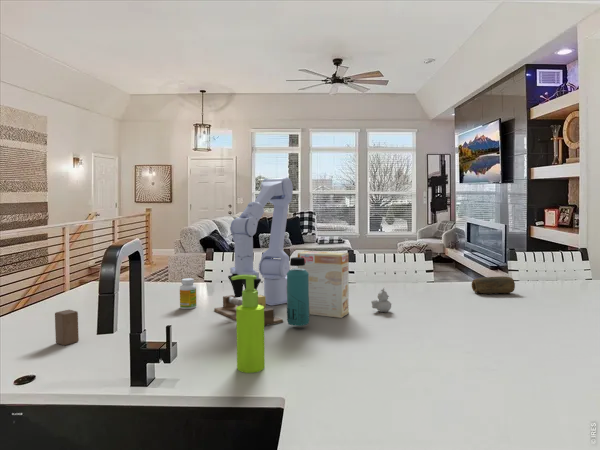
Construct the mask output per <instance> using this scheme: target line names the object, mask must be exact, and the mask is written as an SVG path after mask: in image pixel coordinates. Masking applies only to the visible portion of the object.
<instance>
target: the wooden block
mask: <svg viewBox="0 0 600 450" xmlns="http://www.w3.org/2000/svg"><path fill="white" fill-rule="evenodd" d="M54 328H55V329H54V330H55V331H54V332H55V333H54V334H55V344H58V345H61V346H68V345H72V344H74V343H78V342H79V340H80V339H79V338H80V337H79V313H78V311H77V310H73V309H65V310H60V311H56V312H54Z"/></svg>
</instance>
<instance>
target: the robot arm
mask: <svg viewBox="0 0 600 450" xmlns="http://www.w3.org/2000/svg"><path fill="white" fill-rule="evenodd" d="M292 182H293V181H292V180H291V179H290V178H289V177H288V176H287V177H274V178H272V177H271V178H269V177H266V178H264V179H263V180H262V182H261V184H260V191H259V193H258V194H257V196H256V198H255V200H254V201H251V202H248V203H247V206H246V207H245V209H244V210H243V211H242V212H241V214H240V215H239V216H238V217H235V218H234V219H233V220H232V221H231V224H230V227H229V230H230V233H231V236H232V241H233V242H234V267H230V268H229V269H230V272H229V274H230V275H228V276H227V277H228V280H229V282H230V284H231V287H232V291H233V293H234V294H233V295H234V296H235V297H236V299H238V298H242V291H243V290H245V289H246V279H236V280H232V279H231V277H233V276H237V275H256V279H254V289H256V290H257V289H258V287H259V284H260V283H261V282H262V279H261V278H260V275H261V277H262V278H263V290H264V291H263V296H266V305H269V306H271V307H272V306H276V305H284V304H287V294H286V293H287V288H286V287H287V273H288V271H289V270H291V265H290V256H289V255H288V254H287V253H286V252H285V251H284V245H285V237H286V236H285V235H286V229H287V228H286V227H287V221H288V220H287V219H288V212H289V204H290V203H292V199H293V191H294V185H293V183H292ZM268 203H270V204H272V205H273V212H272V218H271V219H272V220H271V225H270V226H271V227H270V234H269V242H268V243H269V244H268V249H266V250H265V251H264V252H263V253H261V258H260V261H259V263H258V271H259V272H258V271H256V270H255V269H254V238H253V236H254V235H256V233H257V230H258V229H257V228H258V224H259V221H260V219H261V218H262V217H263V215H264V213H265V209H264V208H265V206H266V205H267V204H268Z"/></svg>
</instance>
